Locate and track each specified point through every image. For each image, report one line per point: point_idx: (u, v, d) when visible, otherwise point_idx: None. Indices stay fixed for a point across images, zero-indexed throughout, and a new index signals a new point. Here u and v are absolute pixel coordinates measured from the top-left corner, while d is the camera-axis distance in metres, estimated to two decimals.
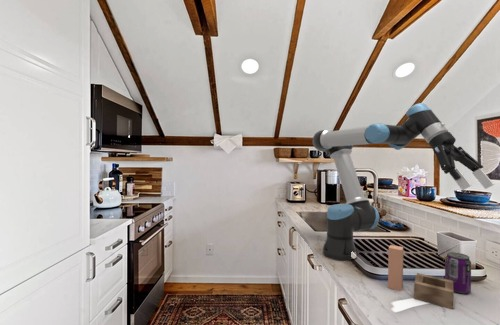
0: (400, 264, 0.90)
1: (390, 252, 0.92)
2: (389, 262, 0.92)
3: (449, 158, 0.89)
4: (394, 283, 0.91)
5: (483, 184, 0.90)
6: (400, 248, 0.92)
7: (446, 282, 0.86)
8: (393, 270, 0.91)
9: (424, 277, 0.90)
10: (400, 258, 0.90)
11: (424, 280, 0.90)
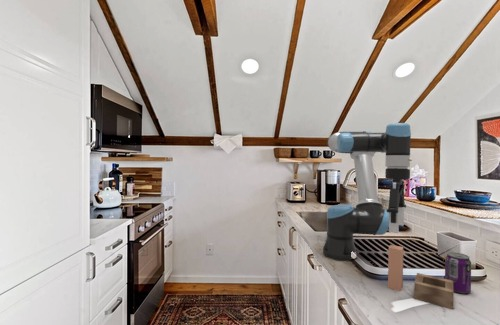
0: (400, 264, 0.90)
1: (390, 252, 0.92)
2: (389, 262, 0.92)
3: None
4: (394, 283, 0.91)
5: None
6: (400, 248, 0.92)
7: (446, 282, 0.86)
8: (393, 270, 0.91)
9: (424, 277, 0.90)
10: (400, 258, 0.90)
11: (424, 280, 0.90)
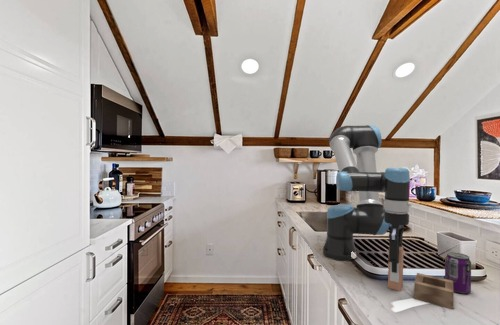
0: (400, 264, 0.90)
1: None
2: (389, 262, 0.92)
3: None
4: (394, 283, 0.91)
5: None
6: (400, 248, 0.92)
7: (446, 282, 0.86)
8: None
9: (424, 277, 0.90)
10: (400, 258, 0.90)
11: (424, 280, 0.90)
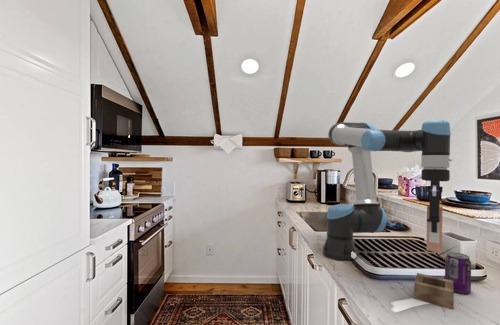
0: (440, 223, 0.83)
1: None
2: (428, 222, 0.85)
3: None
4: (433, 244, 0.84)
5: None
6: (440, 207, 0.85)
7: (446, 282, 0.86)
8: None
9: (424, 277, 0.90)
10: (440, 217, 0.83)
11: (424, 280, 0.90)
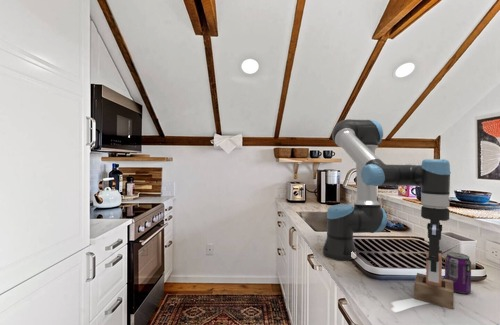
0: (440, 272, 0.83)
1: None
2: (427, 270, 0.85)
3: None
4: None
5: None
6: (439, 254, 0.85)
7: (446, 282, 0.86)
8: None
9: (424, 277, 0.90)
10: (440, 265, 0.83)
11: (424, 280, 0.90)
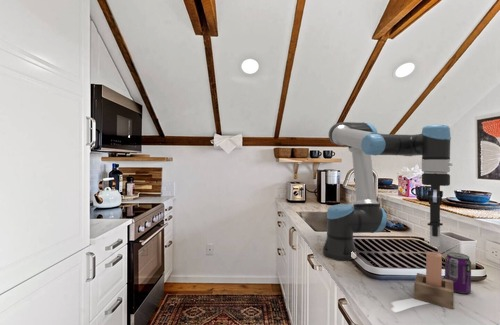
0: (440, 272, 0.83)
1: (428, 259, 0.85)
2: (427, 270, 0.85)
3: None
4: None
5: None
6: (439, 255, 0.85)
7: (446, 282, 0.86)
8: (432, 278, 0.84)
9: (424, 277, 0.90)
10: (440, 266, 0.83)
11: (424, 280, 0.90)
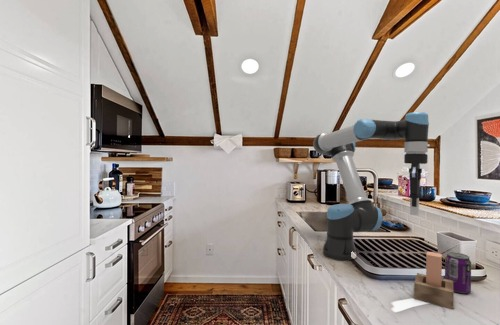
0: (440, 272, 0.83)
1: (428, 259, 0.85)
2: (427, 270, 0.85)
3: None
4: None
5: None
6: (439, 255, 0.85)
7: (446, 282, 0.86)
8: (432, 278, 0.84)
9: (424, 277, 0.90)
10: (440, 266, 0.83)
11: (424, 280, 0.90)
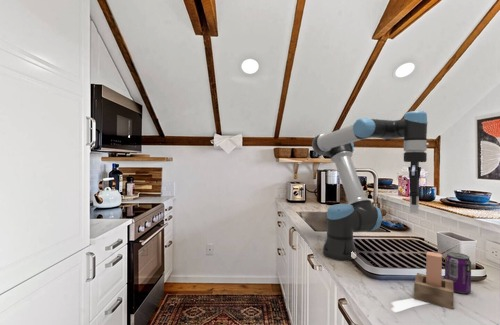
0: (440, 272, 0.83)
1: (428, 259, 0.85)
2: (427, 270, 0.85)
3: None
4: None
5: None
6: (439, 255, 0.85)
7: (446, 282, 0.86)
8: (432, 278, 0.84)
9: (424, 277, 0.90)
10: (440, 266, 0.83)
11: (424, 280, 0.90)
